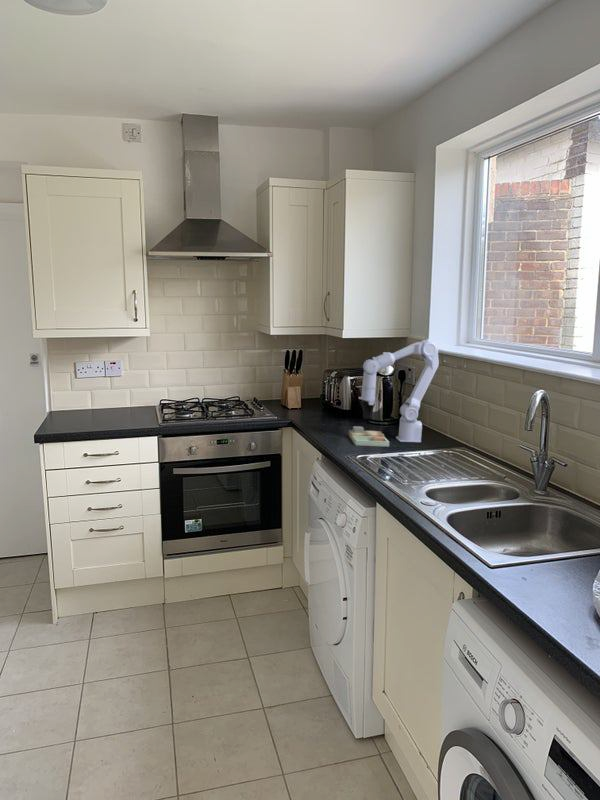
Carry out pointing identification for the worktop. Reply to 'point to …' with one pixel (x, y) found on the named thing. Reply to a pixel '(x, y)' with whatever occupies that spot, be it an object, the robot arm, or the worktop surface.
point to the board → (366, 433)
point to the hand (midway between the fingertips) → (366, 418)
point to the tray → (369, 441)
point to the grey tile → (358, 429)
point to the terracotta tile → (377, 438)
